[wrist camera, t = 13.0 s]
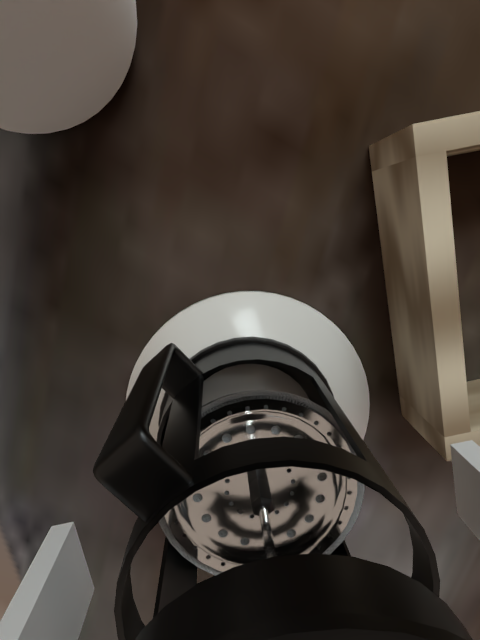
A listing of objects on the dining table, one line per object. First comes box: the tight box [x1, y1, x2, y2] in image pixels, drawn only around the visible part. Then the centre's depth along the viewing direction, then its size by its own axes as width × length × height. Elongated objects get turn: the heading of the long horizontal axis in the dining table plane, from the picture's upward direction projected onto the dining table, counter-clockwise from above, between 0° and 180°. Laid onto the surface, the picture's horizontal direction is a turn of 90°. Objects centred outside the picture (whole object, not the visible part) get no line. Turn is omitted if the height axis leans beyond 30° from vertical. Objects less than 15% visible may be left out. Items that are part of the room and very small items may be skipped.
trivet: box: [126, 291, 370, 441], centre depth 24 cm, size 13×13×1 cm
